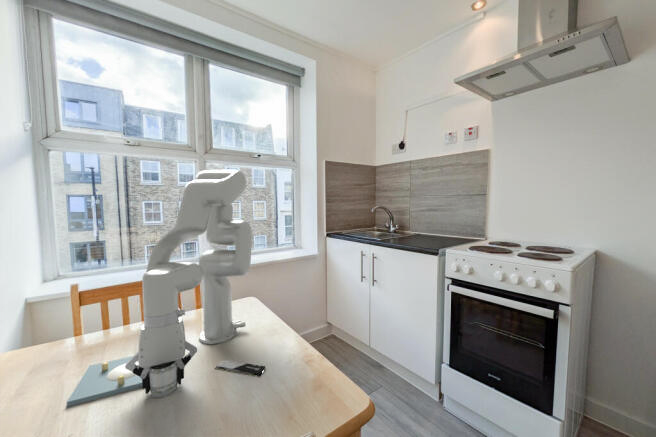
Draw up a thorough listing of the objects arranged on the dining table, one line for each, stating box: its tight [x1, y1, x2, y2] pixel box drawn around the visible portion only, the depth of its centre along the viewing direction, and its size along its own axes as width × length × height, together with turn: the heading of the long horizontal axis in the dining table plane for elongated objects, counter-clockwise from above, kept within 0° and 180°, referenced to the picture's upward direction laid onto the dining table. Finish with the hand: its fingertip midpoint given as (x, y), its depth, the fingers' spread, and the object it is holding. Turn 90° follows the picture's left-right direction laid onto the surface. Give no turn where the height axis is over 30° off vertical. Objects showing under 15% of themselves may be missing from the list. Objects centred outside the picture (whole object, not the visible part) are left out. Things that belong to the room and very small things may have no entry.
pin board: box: [66, 355, 142, 408], centre depth 74 cm, size 20×16×3 cm
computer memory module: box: [214, 359, 267, 378], centre depth 77 cm, size 15×1×4 cm
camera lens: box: [149, 361, 179, 399], centre depth 68 cm, size 6×6×8 cm
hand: (164, 385), depth 68 cm, fingers closed on camera lens, 6 cm apart
